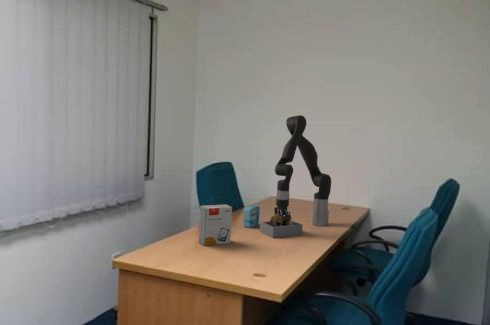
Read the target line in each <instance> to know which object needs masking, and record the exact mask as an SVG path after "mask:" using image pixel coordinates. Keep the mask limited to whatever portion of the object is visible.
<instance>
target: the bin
mask: <svg viewBox="0 0 490 325" xmlns="http://www.w3.org/2000/svg"><path fill="white" fill-rule="evenodd" d="M269 221H270V220H267V221H266V220H265V221H259V233H261V234H263V235H265V236H267V237H270V238H272V239H277V238H285V237H294V236H302V235H303V224H301V223H299V222H297V221H294V220H292V219H291V221H290V222H289V223H288V224H286V226H281V225H280V226H278V225H277V221H276V223H275V225H276V227H275V226H274V224H273V223H274V221H272V222H270V224H268V222H269Z"/></svg>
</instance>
